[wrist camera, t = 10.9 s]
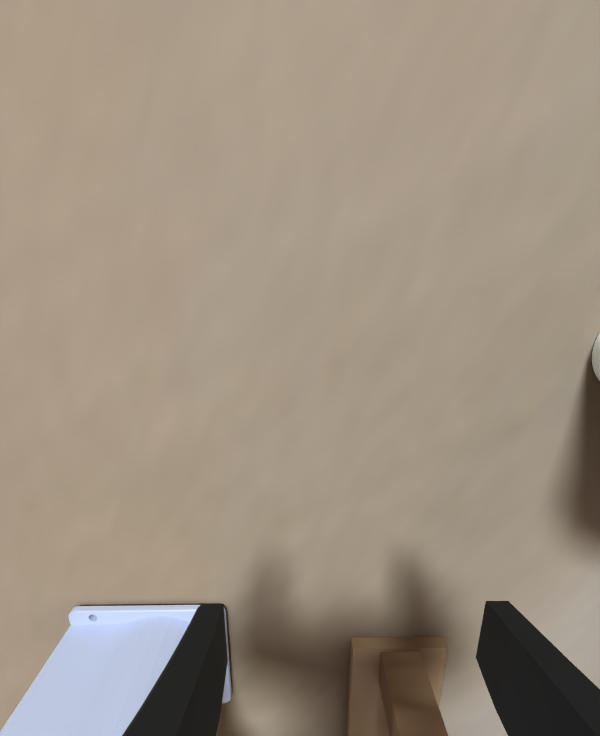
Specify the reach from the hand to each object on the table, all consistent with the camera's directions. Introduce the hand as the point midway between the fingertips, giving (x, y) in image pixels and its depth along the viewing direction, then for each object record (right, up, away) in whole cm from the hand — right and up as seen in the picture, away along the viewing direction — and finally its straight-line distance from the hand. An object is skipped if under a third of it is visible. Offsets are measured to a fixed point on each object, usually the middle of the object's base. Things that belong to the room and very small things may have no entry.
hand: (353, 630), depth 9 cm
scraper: (+5, -21, +15) cm, 26 cm away
